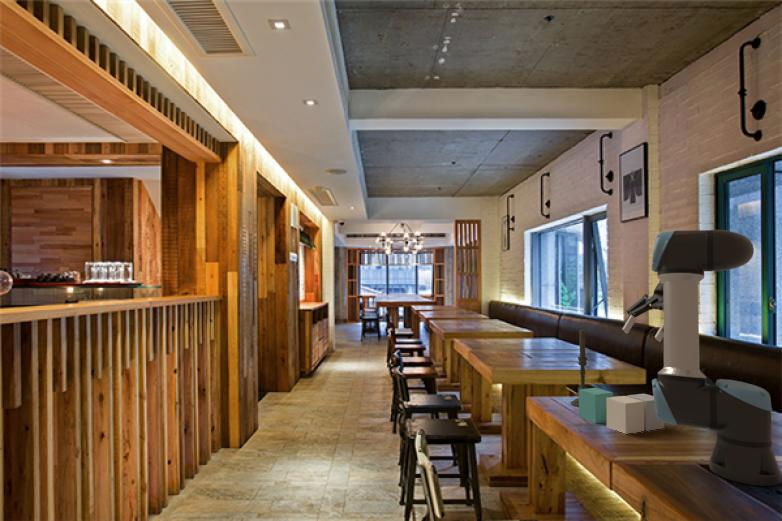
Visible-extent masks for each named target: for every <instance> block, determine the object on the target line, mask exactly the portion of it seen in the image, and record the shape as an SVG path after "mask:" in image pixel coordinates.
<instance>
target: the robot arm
mask: <svg viewBox="0 0 782 521" xmlns="http://www.w3.org/2000/svg"><path fill="white" fill-rule="evenodd" d="M754 247H755V246H754V244H753V243H752V241H751V239H750V238H748V237H747V236H745V235H743V234H741V233H739V232H735V231H730V230H727V229H726V230H725V229H706V230H705V229H702V230H701V229H698V230H697V229H696V230H672V231H662V232H660V233H657V235H656V236H655V241H654V244H653V251H652V257H651V258H652V259H651V260H652V261H651V271H652V272H655V273H656V274H657V276H656V277H657V279H659V283H658V284H657V285H656V286H655V287H654V289H653V294H652V295H651V296H649V295H648V294H647V293H645V294H643V296H642V297H641V298H640V299H639V300H638V301H636V302H635V303H634V304H632V305H631V306H630V307H629V308H627V309H626V311H625V312H626V314H627V315H628V316H627V318H626V320H625V324H624V326H623V327H622V331H624V333H625V334H629V332H630V330H631V329H632V327H633V326H634V324H635V323H636V320H637V317H639V316H642V315H643V314H645V313H646V312H648V311H652V310H658V311H662V312H663V321H662V324H661V325H660V326H659V328H658V330H657V332H656V334H655V336H654V338H655V340H656V341H657V342H659V343H661V341H662V340H663V367H662V369H660V370H659V371H658V372H657V378H654V379H652V380H651V384H652V386H651V387H652V394H653V395H652V396H654V403H655V409H656V414H657V417H658V419H659V420H660V421H661V422H664V424H671V425H675V426H681V427H682V426H683V427H689V428H690V427H691V428H699V429H707V430H713V431H716V442H715V444H714V446H713V449H712V452H711V454H710V458H709V470H710V471H711V472H712V473H714V474H715V475H716V476H719V477H721V478H724V479H726V480H729V481H732V482H736V483H740V484H745V485H752V486H762V487H763V486H765V487H769V486H770V487H771V486H777V485H780V484H781V483H782V472H781V468H780V466H779V463H778V461H777V458H776V456H775V453H774V451H773V443H772V441H773V440H772V436H773V435H772V412H773V408H772V402H771V395H770V393H769V392H768V391H767V390H766V389H765V388H762V387H760V386H757V385H755V384H750V383H747V382H743V381H738V380H734V379H724V378H723V379H721V378H720V379H716V382H715V385H710V384H707V383H706V376H707V375H706V374H705V375H706V376H705V375H704V374H703V373H702V372H701V369H700V330H699V328H700V325H699V319H700V318H699V316H700V315H699V283H700V282H701V281H703V279H704V278H705V272H722V271H723V272H724V271H728V270H735V269H737V268H740V267H743V266H745V265H747V264H748V263H749V262H750V261H751V260H752V258H753V257H754V252H755V248H754Z"/></svg>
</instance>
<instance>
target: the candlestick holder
mask: <svg viewBox="0 0 782 521" xmlns="http://www.w3.org/2000/svg"><path fill="white" fill-rule="evenodd" d="M578 332H579V356H578V357H577V360H578V362H577V363H578V365H579V366H580V368H579V374H580V385H579V387H578V389H577V390H578V391H579V390H580V389H588V388H587V387H586V385H585V381H586V378H585V377H586V368H585V367H587V365H588V363H587V360H588V359H589V358H588V357H586V330H584V328H582V329H579V331H578ZM570 405H572V406H573V407H576V408H579V397H577V398H575V399H574V400H572V401H570Z"/></svg>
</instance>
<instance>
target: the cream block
mask: <svg viewBox="0 0 782 521" xmlns="http://www.w3.org/2000/svg"><path fill="white" fill-rule="evenodd" d="M627 396H628V395H626V396H625V395H621V396H619V395H618V396H613V397H610V398H607V422H606V428H607V429H609V428H610V429H609V430H611V429H613V430H612V431H614V430H617V431H619V432H622V433H625V434H628V433H634V434H637V433H636V432H641V431H644V401H641V400H637V399H634V398H630V397H627ZM617 431H616V432H617ZM619 432H618V433H619ZM644 432H645V431H644ZM622 433H621V434H622ZM641 433H642V432H641ZM625 434H624V435H625ZM628 435H629V434H628Z"/></svg>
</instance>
